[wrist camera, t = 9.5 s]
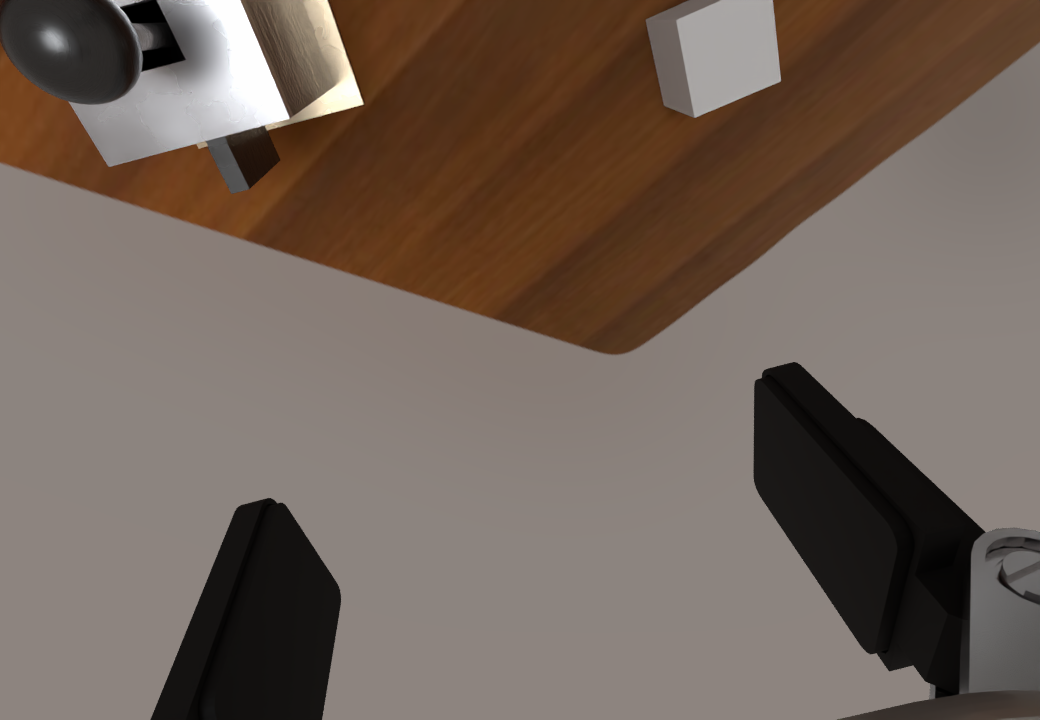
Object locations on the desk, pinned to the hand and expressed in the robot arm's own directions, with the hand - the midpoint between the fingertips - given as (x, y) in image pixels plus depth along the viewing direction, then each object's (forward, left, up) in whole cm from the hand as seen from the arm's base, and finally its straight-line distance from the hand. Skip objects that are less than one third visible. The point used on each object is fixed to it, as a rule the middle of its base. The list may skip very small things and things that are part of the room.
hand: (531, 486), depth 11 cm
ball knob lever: (+12, -10, -31) cm, 35 cm away
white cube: (-18, -2, -37) cm, 41 cm away
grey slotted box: (+12, -10, -36) cm, 40 cm away
